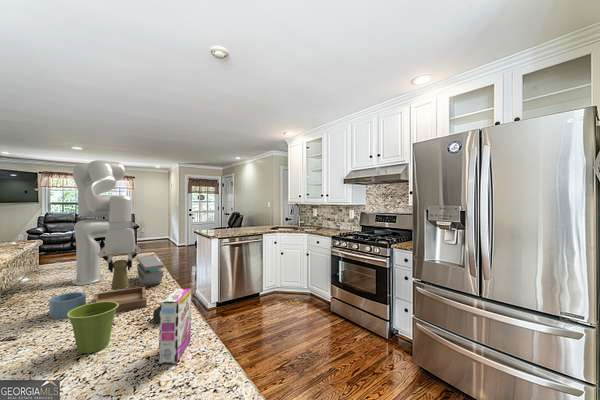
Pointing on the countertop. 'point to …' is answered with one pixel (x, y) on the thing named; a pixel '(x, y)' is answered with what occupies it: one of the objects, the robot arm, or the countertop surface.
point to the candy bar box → (174, 325)
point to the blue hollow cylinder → (65, 304)
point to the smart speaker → (156, 315)
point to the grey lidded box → (149, 270)
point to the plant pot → (92, 325)
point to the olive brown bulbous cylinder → (120, 275)
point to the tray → (124, 298)
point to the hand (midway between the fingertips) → (120, 270)
